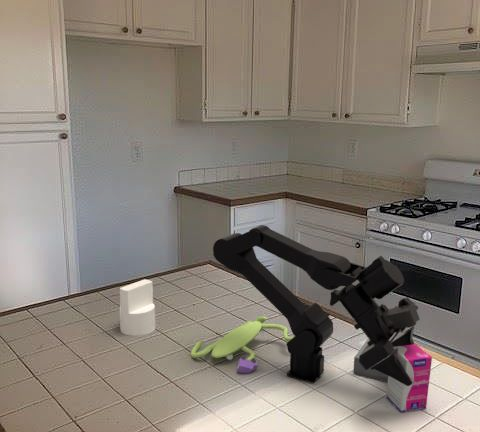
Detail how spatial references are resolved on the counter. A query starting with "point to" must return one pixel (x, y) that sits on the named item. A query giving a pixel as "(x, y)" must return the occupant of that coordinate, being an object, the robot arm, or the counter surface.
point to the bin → (369, 372)
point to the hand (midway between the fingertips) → (416, 375)
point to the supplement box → (418, 372)
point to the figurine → (239, 343)
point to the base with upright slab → (137, 308)
